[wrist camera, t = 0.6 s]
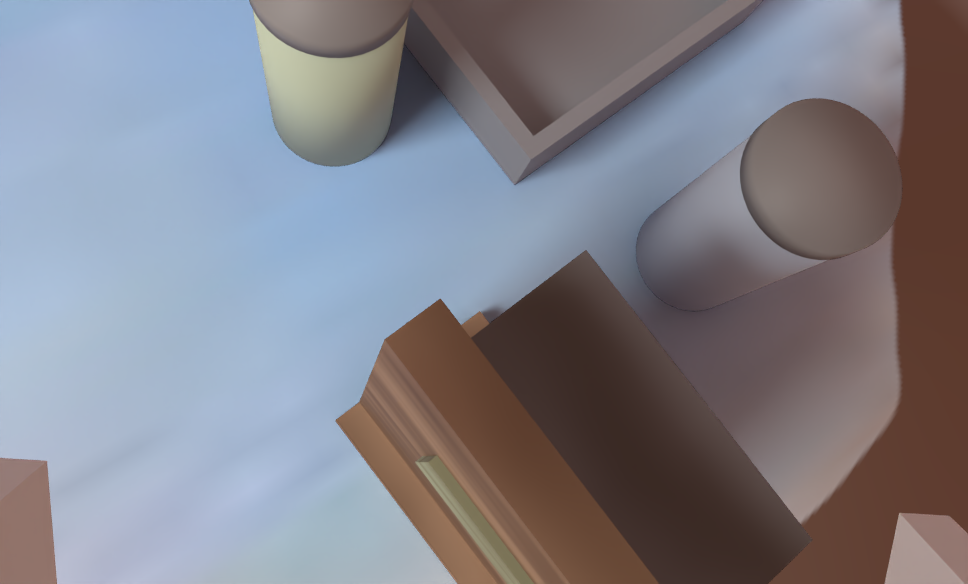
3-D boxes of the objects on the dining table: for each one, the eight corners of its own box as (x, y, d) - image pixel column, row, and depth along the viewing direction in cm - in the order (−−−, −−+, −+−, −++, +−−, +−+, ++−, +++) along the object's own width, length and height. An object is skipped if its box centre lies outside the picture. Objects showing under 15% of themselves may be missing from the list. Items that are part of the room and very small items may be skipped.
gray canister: (624, 204, 41) (738, 103, 29) (731, 195, 42) (882, 94, 31) (645, 319, 40) (771, 261, 28) (754, 306, 41) (918, 245, 30)
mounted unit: (501, 642, 36) (696, 852, 17) (335, 421, 37) (336, 375, 17) (635, 522, 38) (946, 584, 19) (476, 314, 39) (617, 167, 19)
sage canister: (263, 57, 39) (234, -113, 28) (385, 51, 40) (406, -114, 29) (276, 173, 38) (250, 47, 27) (400, 163, 39) (427, 39, 28)
